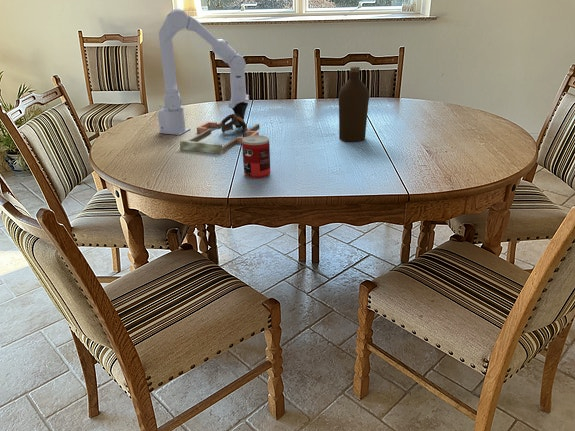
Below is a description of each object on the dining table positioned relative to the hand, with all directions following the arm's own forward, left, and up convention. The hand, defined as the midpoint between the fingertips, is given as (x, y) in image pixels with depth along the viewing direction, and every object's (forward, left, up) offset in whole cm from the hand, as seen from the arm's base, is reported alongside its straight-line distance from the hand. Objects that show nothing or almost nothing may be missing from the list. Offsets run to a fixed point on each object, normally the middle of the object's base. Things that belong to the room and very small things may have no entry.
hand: (240, 121), depth 192 cm
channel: (0, -16, -2) cm, 16 cm away
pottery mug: (+2, -8, -2) cm, 8 cm away
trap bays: (0, -12, -2) cm, 12 cm away
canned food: (+27, -46, -2) cm, 53 cm away
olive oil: (+46, -3, -2) cm, 46 cm away
